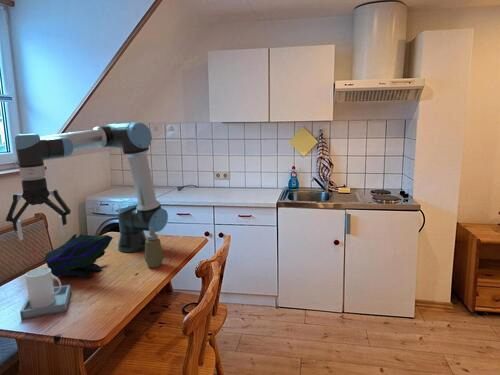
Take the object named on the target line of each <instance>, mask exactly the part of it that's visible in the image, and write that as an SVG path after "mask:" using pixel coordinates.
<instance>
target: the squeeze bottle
mask: <svg viewBox="0 0 500 375" xmlns="http://www.w3.org/2000/svg"><path fill="white" fill-rule="evenodd" d="M146 238H147V240H146V241H145V249H144V254H145V255H144V260H145V263H146V265H147V267H148V268H150V269H153V268H158V267H161V266H162V264H163V260H164V253H163V250H162V249H163V248H162V244H161V239H160V238H159V237H158V234H157V233H156V232H154V229H153V227H150V231H149V234H147V235H146Z"/></svg>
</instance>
